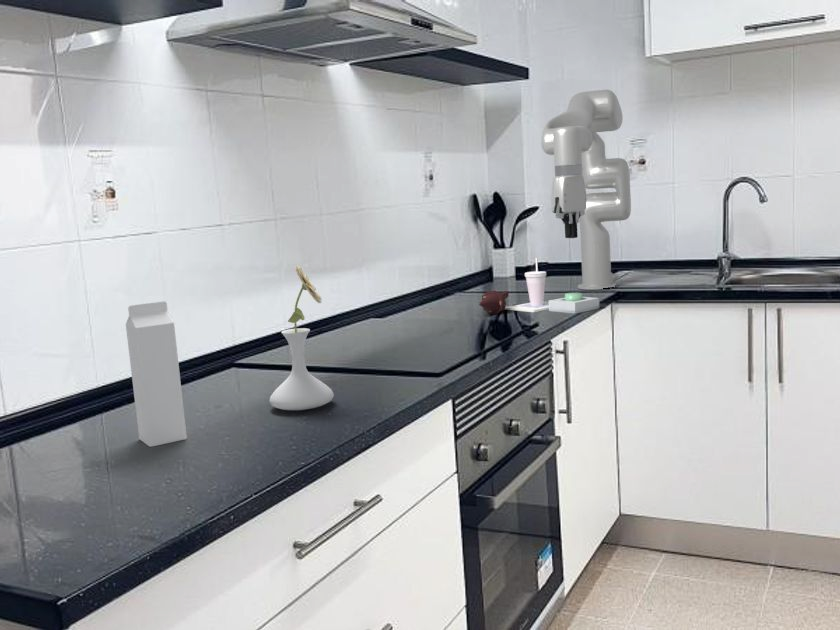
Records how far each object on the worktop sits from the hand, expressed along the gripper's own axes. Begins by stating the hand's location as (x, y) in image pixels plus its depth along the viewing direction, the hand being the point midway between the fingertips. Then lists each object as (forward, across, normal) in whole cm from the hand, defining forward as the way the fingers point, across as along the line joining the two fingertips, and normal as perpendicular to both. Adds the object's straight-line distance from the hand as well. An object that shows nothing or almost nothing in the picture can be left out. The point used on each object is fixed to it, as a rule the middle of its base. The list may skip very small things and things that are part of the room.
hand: (571, 237), depth 238 cm
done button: (+20, +1, 0) cm, 20 cm away
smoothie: (+20, +2, -13) cm, 24 cm away
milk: (+18, +134, +33) cm, 139 cm away
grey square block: (+20, +1, 0) cm, 21 cm away
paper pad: (+21, +3, -13) cm, 24 cm away
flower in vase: (+19, +108, +33) cm, 114 cm away
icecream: (+21, +17, -16) cm, 31 cm away
